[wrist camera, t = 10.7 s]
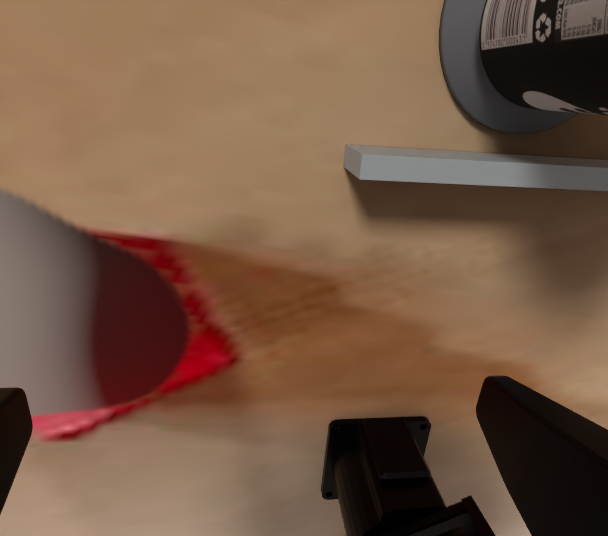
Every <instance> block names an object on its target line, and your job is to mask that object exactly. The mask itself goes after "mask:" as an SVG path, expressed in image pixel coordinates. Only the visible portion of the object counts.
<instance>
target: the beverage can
mask: <svg viewBox="0 0 608 536" xmlns="http://www.w3.org/2000/svg"><path fill="white" fill-rule="evenodd" d="M479 46H480V55H481V60H482V64H483V67H484V70H485V72H486V75H487V77H488V79H489V81H490V82H491V84H492V85H493V87H494V88H495V89H496V90H497V92H498V93H499V94H500V95H502V96H503V97H504V98H505V99H507V100H508V101H510V102H511V103H513V104H515V105H518V106H520V107H524V108H528V109H537V110H549V111H561V112H573V113H585V114H597V115H608V0H486V2H485V5H484V9H483V12H482V17H481V23H480V32H479Z"/></svg>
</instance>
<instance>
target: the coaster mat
mask: <svg viewBox="0 0 608 536" xmlns="http://www.w3.org/2000/svg"><path fill="white" fill-rule="evenodd" d="M485 2H486V0H444V4H443V8H442V13H441V20H440V28H439V50H440V60H441V65H442V69H443V73H444V76H445V79H446V82H447V85H448V87H449V89H450V91H451V93H452V95H453V97H454V98H455V100H456V101H457V102H458V104H459V105H460V106H461V108H462V109H463V110H464V111H465V112H466V113H467V114H468V115H469V116H470V117H472V118H473V119H475V120H476V121H477V122H479V123H481V124H483V125H485V126H487V127H489V128H492V129H495V130H498V131H502V132H509V133H533V132H539V131H543V130H546V129H550V128H552V127H555V126H557V125H559V124H562V123H564V122H565V121H567V120H569V119H571V118H572V117H574V116H575V115H577V114H578V113H573V112H561V111H549V110H537V109H528V108H524V107H520V106H518V105H515V104H513V103H511V102H510V101H508V100H507V99H505V98H504V97H503V96H502V95H500V94H499V93H498V92H497V90H496V89H495V88H494V87H493V85H492V84H491V82H490V81H489V79H488V77H487V75H486V72H485V70H484V67H483V64H482V60H481V55H480V46H479V32H480V23H481V17H482V12H483V9H484V5H485Z"/></svg>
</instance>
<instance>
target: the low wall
mask: <svg viewBox="0 0 608 536" xmlns="http://www.w3.org/2000/svg"><path fill="white" fill-rule="evenodd" d="M344 167H345V168H346V169H347V170H348V171H350V172H351V173H352V174H353V175H354V176H356V177H357V178H358V179H359V180H381V181H402V182H423V183H445V184H466V185H487V186H509V187H530V188H551V189H572V190H594V191H608V160H599V159H582V158H565V157H548V156H531V155H514V154H497V153H481V152H464V151H447V150H430V149H413V148H396V147H379V146H362V145H346V149H345V158H344Z"/></svg>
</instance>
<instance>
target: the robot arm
mask: <svg viewBox="0 0 608 536" xmlns="http://www.w3.org/2000/svg"><path fill="white" fill-rule="evenodd" d="M476 415H477V418H478V421H479V424H480V426H481V428H482V431H483V433H484V436H485V438H486V440H487V443H488V445H489V448H490V450H491V452H492V455H493V457H494V460H495V462H496V464H497V467H498V469H499V472H500V474H501V476H502V479H503V481H504V483H505V485H506V487H507V489H508V491H509V493H510V495H511V497H512V499H513V501H514V503H515V505H516V507H517V509H518V511H519V513H520V514H521V516H522V518H523V520H524V522H525V524H526V526H527V528H528V529H529V531H530V533H531V535H532V536H608V430H607V429H605V428H603V427H601V426H600V425H598V424H596V423H594V422H592V421H590V420H588V419H586V418H585V417H583V416H581V415H579V414H577V413H575V412H573V411H572V410H570V409H568V408H566V407H564V406H562V405H560V404H558V403H557V402H555V401H553V400H551V399H549V398H547V397H545V396H543V395H542V394H540V393H538V392H536V391H534V390H532V389H530V388H528V387H527V386H525V385H523V384H521V383H519V382H517V381H515V380H514V379H512V378H510V377H508V376H488V377H486V378H485V380H484V382H483V385H482V388H481V392H480V395H479V398H478V402H477V405H476ZM422 424H423V425H422ZM338 427H339V428H338ZM335 428H338V429H335ZM430 428H431V424H430V422H429V420H428V418H426V417H423V416H419V417H392V418H366V419H339V420H334V421H332V422H331V423H330V424H329V427H328V435H327V444H326V452H325V460H324V468H323V476H322V485H321V493H322V497H323V498H324V499H327V500H330V499H338V500H339V504H340V509H341V513H342V518H343V522H344V527H345V531H346V536H495V534H494V533H493V531H492V529H491V528H490V526H489V524H488V523H487V521H486V519H485V518H484V516H483V515H482V513H481V511H480V510H479V508H478V506H477V505H476V503H475V501H474V500H473V498H472V497H471V496H468V497H466V498H463V499H461V500H462V501H461V502H459V503H456V504H453V505H451V506H448V507H446V505H445V503H444V501H443V499H442V497H441V495H440V493H439V491H438V488H437V486H436V484H435V482H434V480H433V478H432V476H431V473H430V470H429V468H428V466H427V464H426V462H425V459H424V453H425V449H426V445H427V441H428V437H429V432H430ZM31 433H32V419H31V414H30V410H29V406H28V402H27V398H26V394H25V392H24V391H23V389H21V388H0V514H1V512H2V509H3V507H4V504H5V502H6V499H7V497H8V494H9V491H10V489H11V486H12V484H13V481H14V478H15V476H16V473H17V471H18V468H19V466H20V463H21V460H22V458H23V455H24V453H25V450H26V447H27V445H28V442H29V440H30V437H31Z"/></svg>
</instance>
